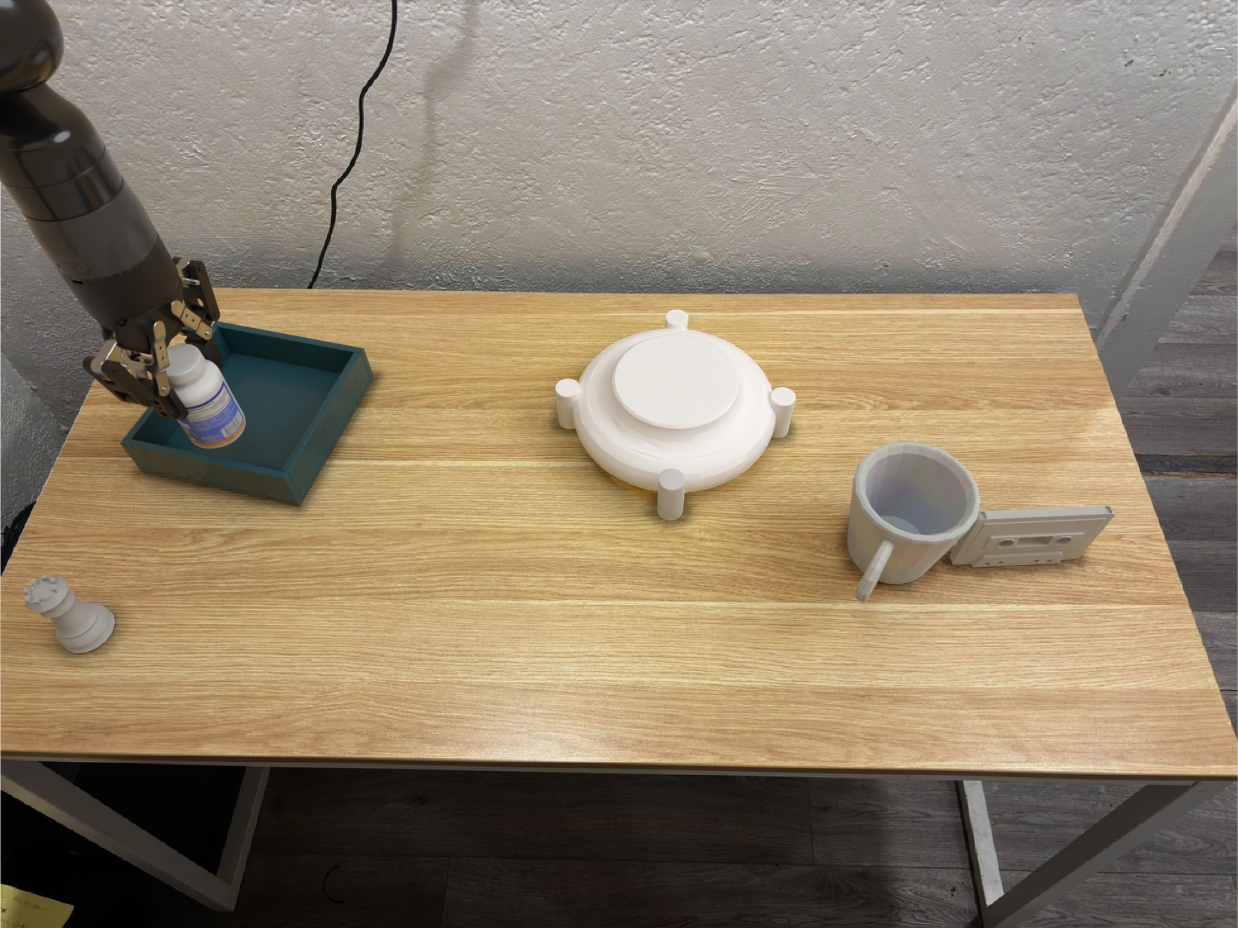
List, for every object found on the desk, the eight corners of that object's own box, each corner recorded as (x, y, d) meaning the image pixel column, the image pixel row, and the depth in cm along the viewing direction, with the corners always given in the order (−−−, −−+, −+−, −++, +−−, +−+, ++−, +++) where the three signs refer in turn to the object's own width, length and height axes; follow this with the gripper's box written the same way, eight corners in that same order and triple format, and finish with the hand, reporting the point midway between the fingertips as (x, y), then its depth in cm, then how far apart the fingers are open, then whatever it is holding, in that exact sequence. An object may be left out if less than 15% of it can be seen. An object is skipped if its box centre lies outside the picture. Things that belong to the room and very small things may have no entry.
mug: (961, 535, 79) (999, 473, 71) (901, 660, 71) (935, 606, 63) (858, 486, 82) (883, 422, 74) (791, 600, 75) (810, 542, 67)
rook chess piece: (73, 665, 72) (19, 624, 65) (57, 629, 74) (2, 585, 68) (125, 635, 74) (77, 591, 67) (107, 600, 76) (59, 554, 69)
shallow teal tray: (299, 506, 82) (284, 479, 78) (141, 471, 84) (119, 443, 81) (374, 377, 92) (364, 347, 88) (231, 350, 94) (215, 320, 91)
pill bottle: (185, 420, 82) (139, 349, 74) (241, 400, 83) (201, 329, 76) (195, 459, 79) (148, 389, 71) (253, 438, 80) (213, 368, 73)
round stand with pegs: (545, 515, 81) (539, 471, 75) (569, 339, 95) (566, 291, 89) (795, 527, 80) (808, 483, 74) (781, 347, 94) (791, 299, 88)
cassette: (1073, 546, 78) (1111, 500, 72) (1080, 564, 77) (1120, 518, 71) (946, 552, 78) (973, 506, 72) (951, 570, 77) (979, 524, 70)
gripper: (116, 180, 68) (201, 331, 82) (-4, 297, 60) (113, 443, 73) (198, 193, 67) (270, 344, 80) (87, 314, 59) (189, 460, 72)
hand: (195, 391), depth 77 cm, fingers closed on pill bottle, 5 cm apart
